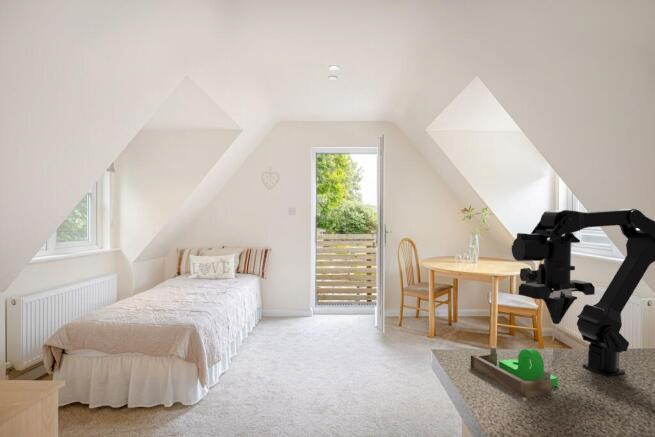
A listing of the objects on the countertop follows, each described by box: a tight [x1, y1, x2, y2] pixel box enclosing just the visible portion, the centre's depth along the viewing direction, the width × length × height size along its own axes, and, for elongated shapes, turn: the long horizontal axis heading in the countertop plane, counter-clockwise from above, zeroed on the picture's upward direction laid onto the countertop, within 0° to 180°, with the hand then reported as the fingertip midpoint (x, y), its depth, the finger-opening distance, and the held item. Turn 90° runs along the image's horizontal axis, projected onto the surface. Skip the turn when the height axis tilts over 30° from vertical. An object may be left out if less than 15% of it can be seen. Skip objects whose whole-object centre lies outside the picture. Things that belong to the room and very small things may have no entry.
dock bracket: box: [470, 346, 552, 399], centre depth 91 cm, size 7×18×4 cm, turn 18°
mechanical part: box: [498, 348, 559, 388], centre depth 93 cm, size 12×6×8 cm, turn 16°
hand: (555, 323), depth 96 cm, fingers closed
